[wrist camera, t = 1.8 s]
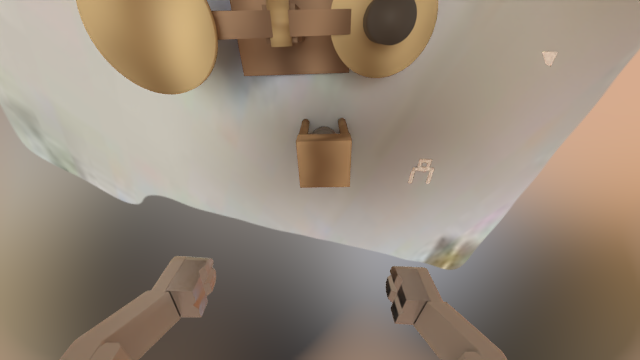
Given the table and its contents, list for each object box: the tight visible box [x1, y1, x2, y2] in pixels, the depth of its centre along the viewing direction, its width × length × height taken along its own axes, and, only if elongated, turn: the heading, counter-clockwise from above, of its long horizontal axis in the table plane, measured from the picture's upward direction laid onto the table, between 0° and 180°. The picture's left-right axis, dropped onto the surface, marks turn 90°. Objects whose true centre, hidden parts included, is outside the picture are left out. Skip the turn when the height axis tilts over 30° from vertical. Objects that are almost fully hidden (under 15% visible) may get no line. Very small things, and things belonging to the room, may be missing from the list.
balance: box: [76, 0, 438, 94], centre depth 19 cm, size 23×9×13 cm, turn 92°
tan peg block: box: [296, 118, 352, 188], centre depth 28 cm, size 6×6×8 cm
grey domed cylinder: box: [312, 127, 336, 134], centre depth 30 cm, size 4×4×4 cm
